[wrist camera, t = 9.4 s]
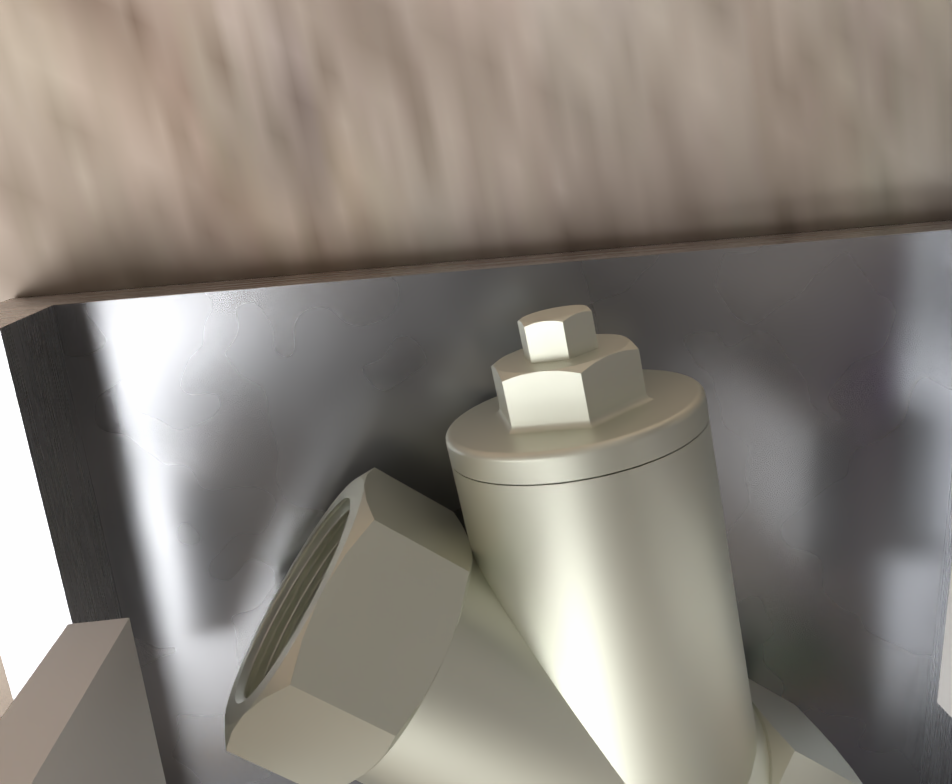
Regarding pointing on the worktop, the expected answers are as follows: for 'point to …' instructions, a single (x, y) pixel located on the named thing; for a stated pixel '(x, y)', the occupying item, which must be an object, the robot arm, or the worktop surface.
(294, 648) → the pipe fitting
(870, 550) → the grey tray
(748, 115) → the worktop surface
